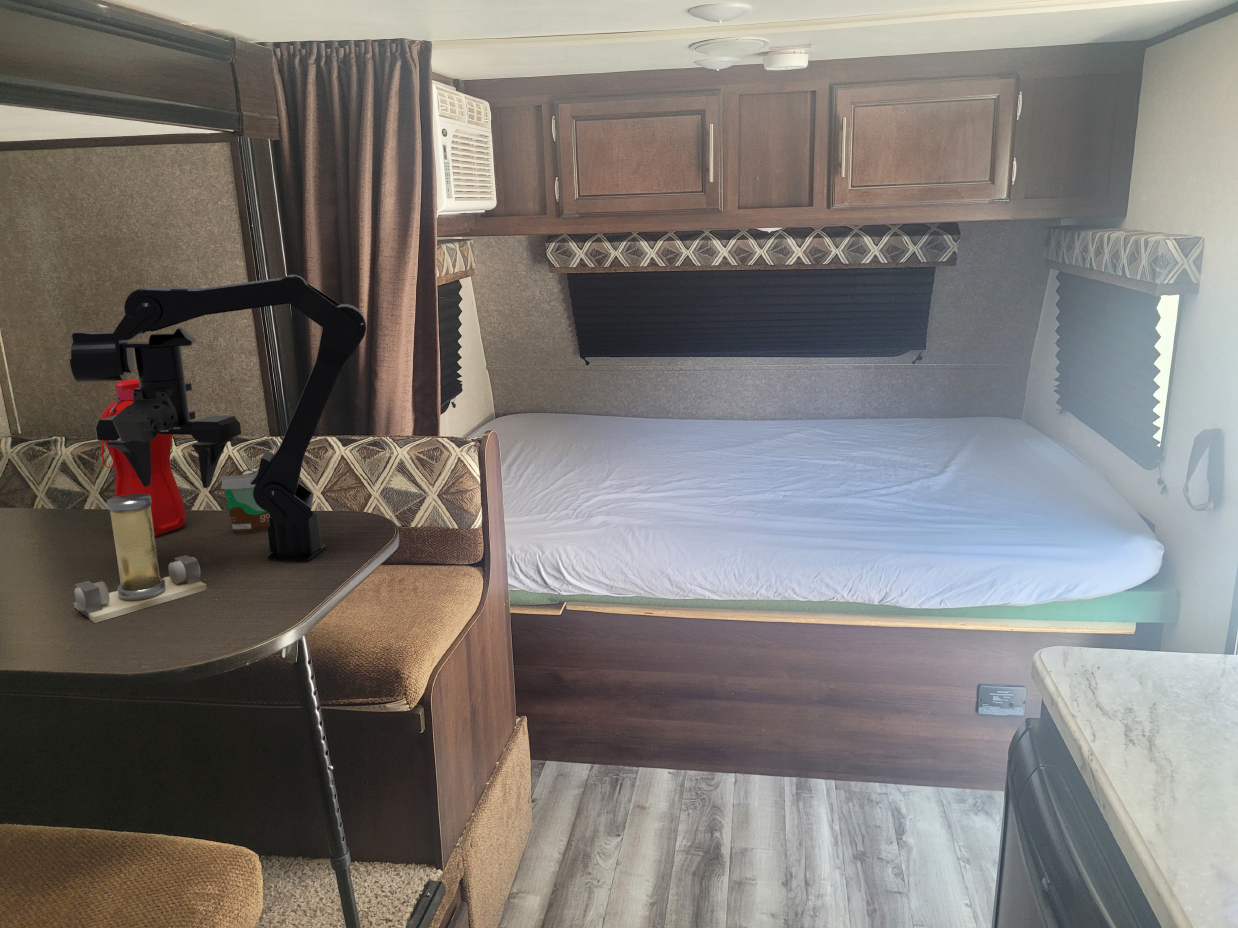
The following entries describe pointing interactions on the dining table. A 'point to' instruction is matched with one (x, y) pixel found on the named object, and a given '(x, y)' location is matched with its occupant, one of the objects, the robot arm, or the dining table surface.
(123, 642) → the dining table surface
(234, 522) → the food container
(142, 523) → the metal capped yellow cylinder
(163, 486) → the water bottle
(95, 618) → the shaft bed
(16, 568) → the dining table surface
